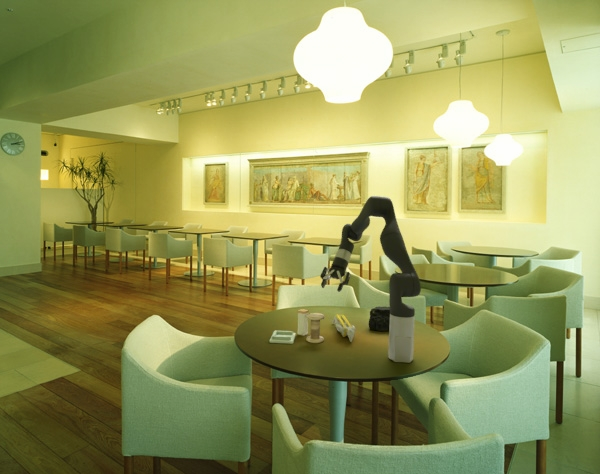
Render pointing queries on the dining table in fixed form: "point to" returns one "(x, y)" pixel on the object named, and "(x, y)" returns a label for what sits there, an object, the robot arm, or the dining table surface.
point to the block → (302, 322)
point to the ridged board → (283, 337)
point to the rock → (379, 318)
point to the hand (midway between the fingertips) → (330, 289)
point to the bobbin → (315, 328)
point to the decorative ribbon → (344, 327)
